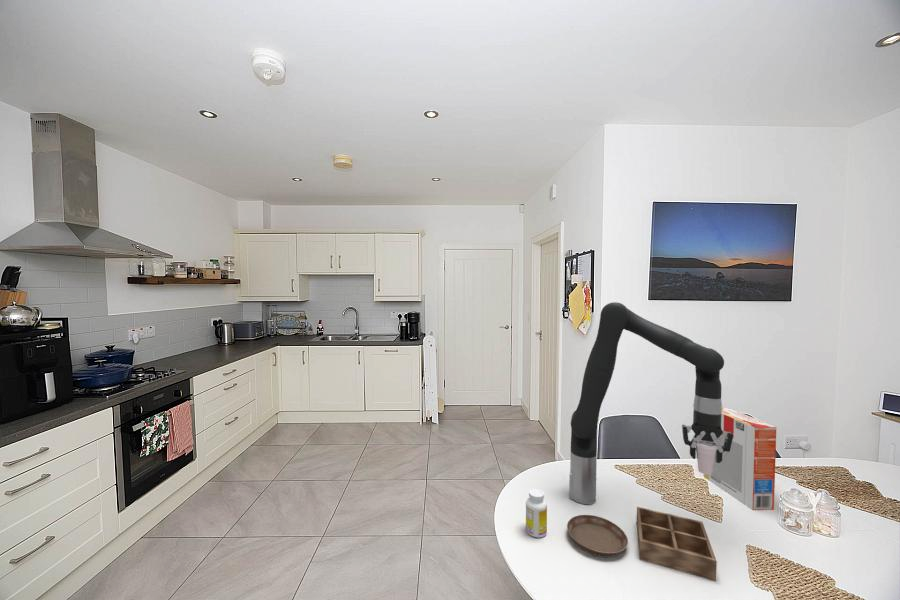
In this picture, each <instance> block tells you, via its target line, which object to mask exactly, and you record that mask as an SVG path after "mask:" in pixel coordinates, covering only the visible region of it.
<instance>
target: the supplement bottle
mask: <svg viewBox="0 0 900 600" xmlns="http://www.w3.org/2000/svg"><path fill="white" fill-rule="evenodd" d="M544 498H545V493H544V491H543V490H541V489H537V488H533V489H530V490H529V491H528V498H527V499H526V501H525V531H526V533H527V534H528V535H529V536H530V537H532V538H533V537H534V538H544V537H545V536H546V535H547V533H548V532H547V531H548V508H547V507H548V503H547V501H546V500H545V499H544Z"/></svg>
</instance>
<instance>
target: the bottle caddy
mask: <svg viewBox="0 0 900 600" xmlns="http://www.w3.org/2000/svg"><path fill="white" fill-rule="evenodd" d="M636 531H637V533H636V534H637V544H638V546H637V547H638V557H639V558H638V559H639V560H640V561H645V562H648V563H652V564H655V565H658V566H661V567H662V566H663V567H665V568H669V569H673V570H676V571H680V572H684V573H686V574H691V575H694V576H697V577H701V578H704V579H708V580H711V581H716V582H717V566H718V565H717V562H718V561H717V559H716V556H715V553H714V550H713V547H712V544H711V542H710V538H709V536H708V533H707V531H706V528H705V525H704V522H703V521H700V520H697V519H692V518H688V517H683V516H681V515H674V514H670V513H667V512H662V511H658V510H653V509H649V508H644V507H640V506H636Z"/></svg>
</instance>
